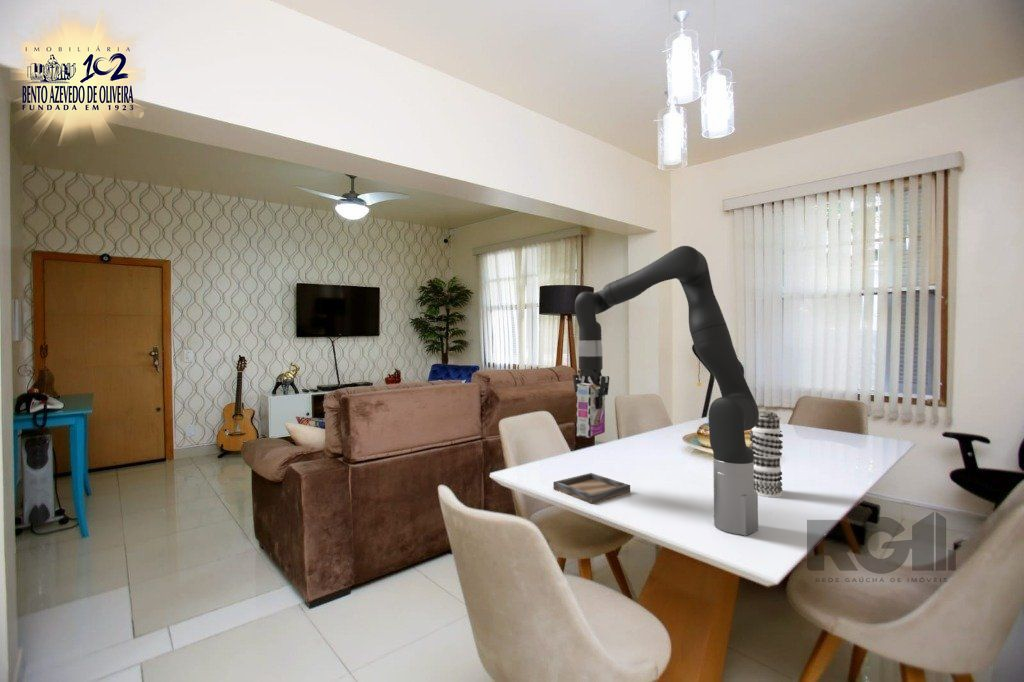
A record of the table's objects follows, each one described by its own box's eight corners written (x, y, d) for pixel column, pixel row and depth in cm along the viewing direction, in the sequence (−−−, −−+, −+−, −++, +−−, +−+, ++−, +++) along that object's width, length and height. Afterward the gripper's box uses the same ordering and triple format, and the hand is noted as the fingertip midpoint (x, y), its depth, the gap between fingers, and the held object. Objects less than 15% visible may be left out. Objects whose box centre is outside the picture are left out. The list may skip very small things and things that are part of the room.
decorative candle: (786, 492, 142) (785, 412, 143) (779, 499, 136) (778, 415, 136) (754, 486, 149) (753, 409, 149) (746, 493, 142) (745, 412, 142)
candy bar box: (590, 438, 139) (590, 384, 139) (576, 436, 142) (575, 384, 142) (606, 432, 148) (605, 382, 148) (592, 431, 151) (591, 381, 151)
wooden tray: (630, 492, 143) (630, 485, 143) (591, 503, 133) (591, 496, 133) (591, 479, 157) (591, 472, 157) (553, 489, 147) (553, 481, 147)
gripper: (615, 355, 142) (616, 409, 142) (582, 354, 153) (583, 404, 153) (598, 355, 137) (599, 411, 137) (566, 354, 149) (566, 406, 149)
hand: (591, 407), depth 145 cm, fingers closed on candy bar box, 6 cm apart
